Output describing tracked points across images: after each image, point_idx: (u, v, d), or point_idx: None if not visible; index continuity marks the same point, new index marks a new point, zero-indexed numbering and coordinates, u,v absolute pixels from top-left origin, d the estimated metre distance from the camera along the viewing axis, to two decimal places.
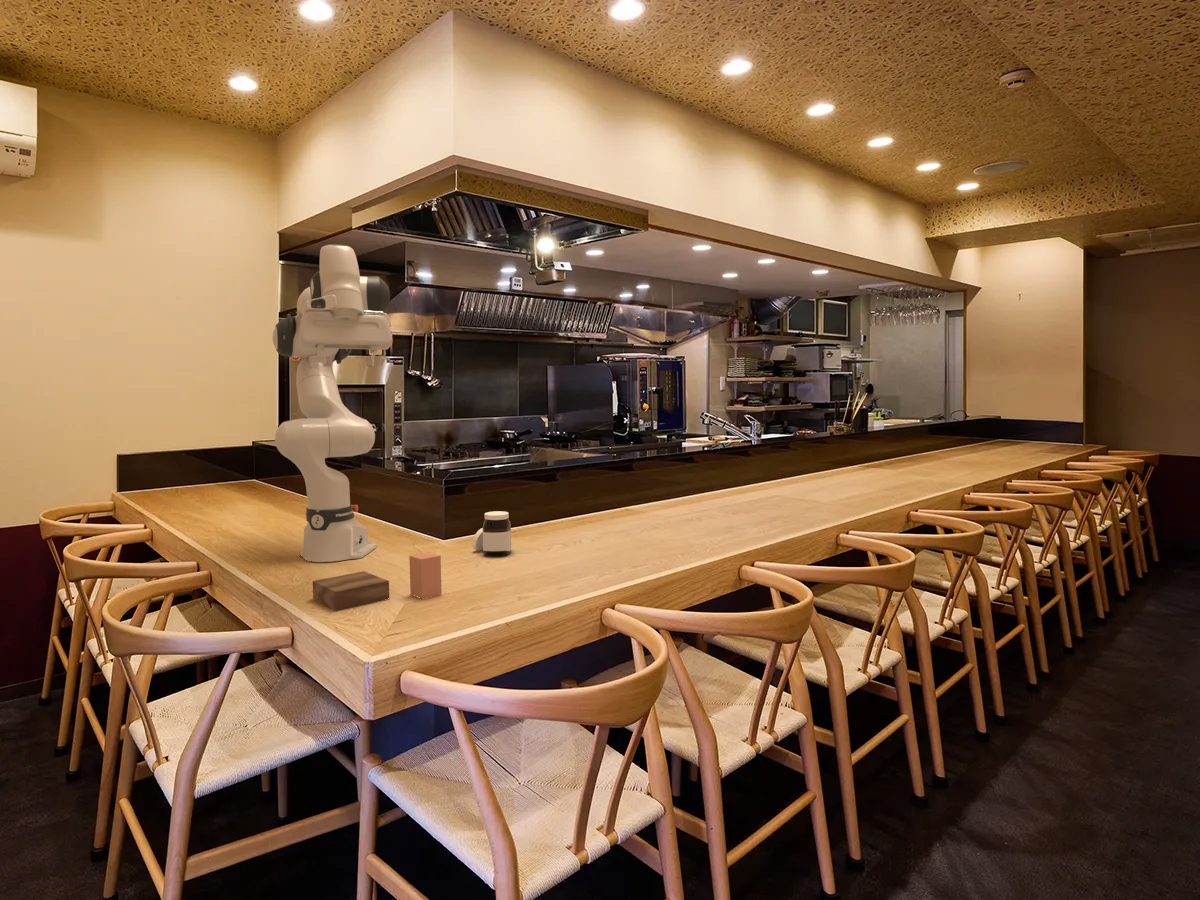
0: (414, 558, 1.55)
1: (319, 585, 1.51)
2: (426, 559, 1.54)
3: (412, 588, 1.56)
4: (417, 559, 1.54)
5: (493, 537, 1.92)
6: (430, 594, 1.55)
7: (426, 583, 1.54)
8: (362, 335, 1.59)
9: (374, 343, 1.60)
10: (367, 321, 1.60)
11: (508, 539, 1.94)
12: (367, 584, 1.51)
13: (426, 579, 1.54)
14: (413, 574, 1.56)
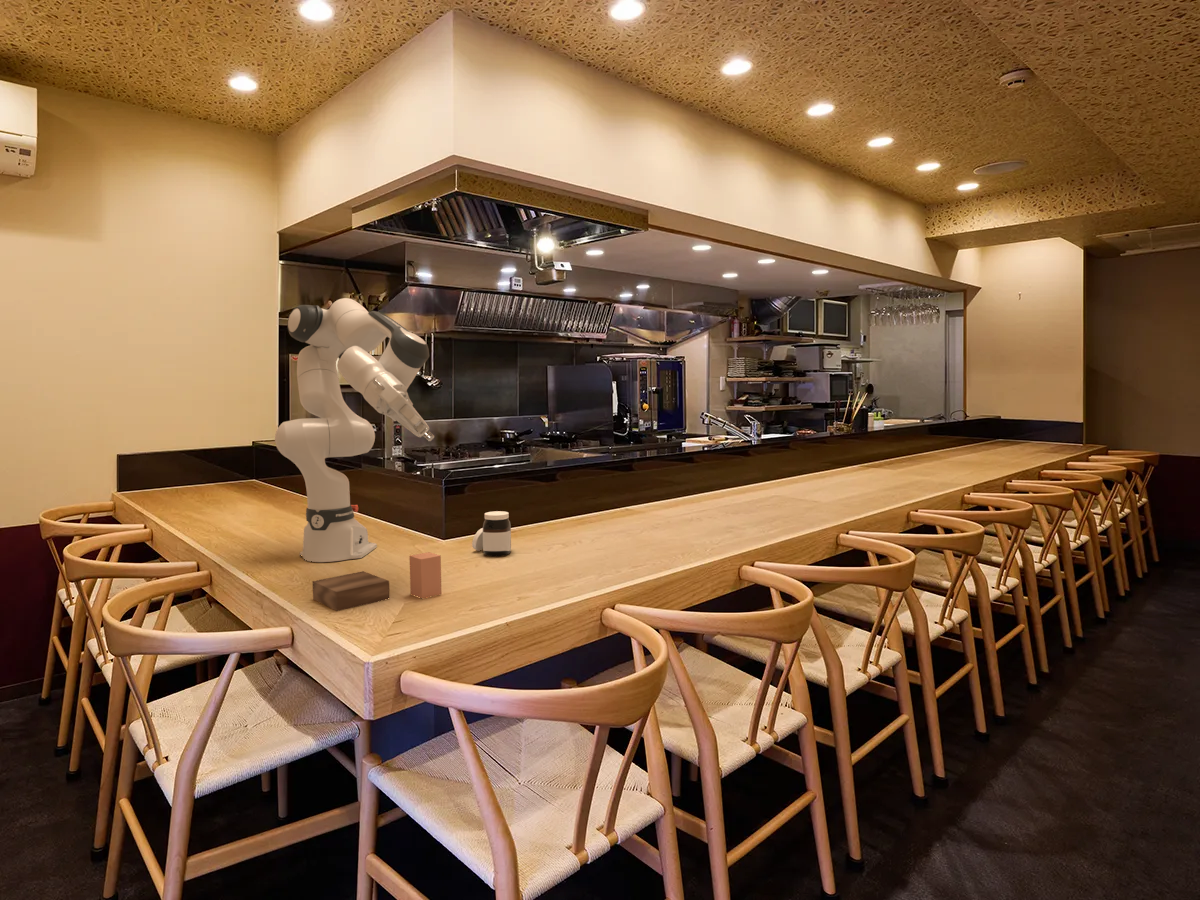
0: (414, 558, 1.55)
1: (319, 585, 1.51)
2: (426, 559, 1.54)
3: (412, 588, 1.56)
4: (417, 559, 1.54)
5: (493, 537, 1.92)
6: (430, 594, 1.55)
7: (427, 583, 1.54)
8: None
9: (397, 413, 1.56)
10: (383, 400, 1.59)
11: (508, 539, 1.94)
12: (367, 584, 1.51)
13: (426, 579, 1.54)
14: (413, 574, 1.56)
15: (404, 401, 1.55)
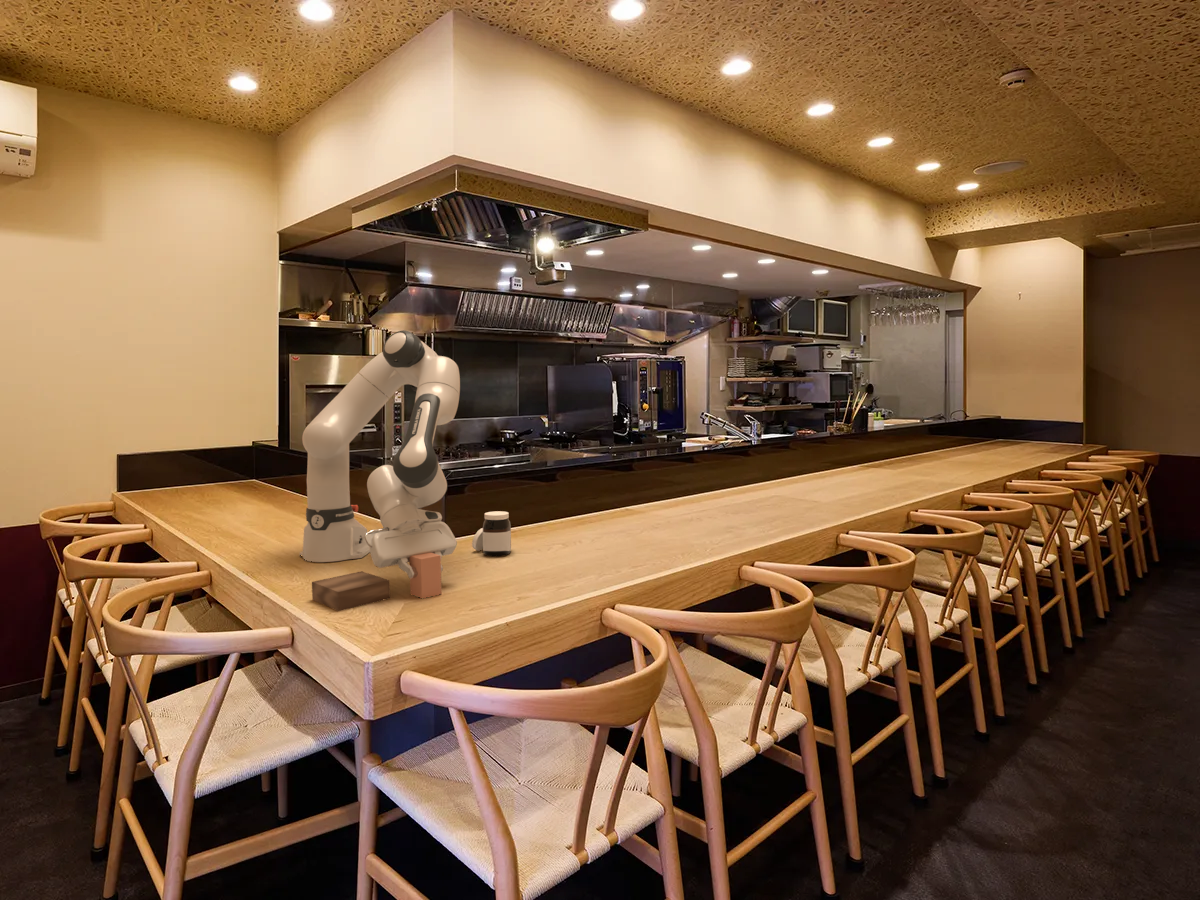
0: (414, 558, 1.55)
1: (319, 585, 1.51)
2: (426, 559, 1.54)
3: (412, 588, 1.56)
4: (417, 559, 1.54)
5: (493, 537, 1.92)
6: (430, 594, 1.55)
7: (427, 583, 1.54)
8: None
9: None
10: None
11: (508, 539, 1.94)
12: (368, 584, 1.51)
13: (426, 579, 1.54)
14: None
15: (389, 559, 1.52)
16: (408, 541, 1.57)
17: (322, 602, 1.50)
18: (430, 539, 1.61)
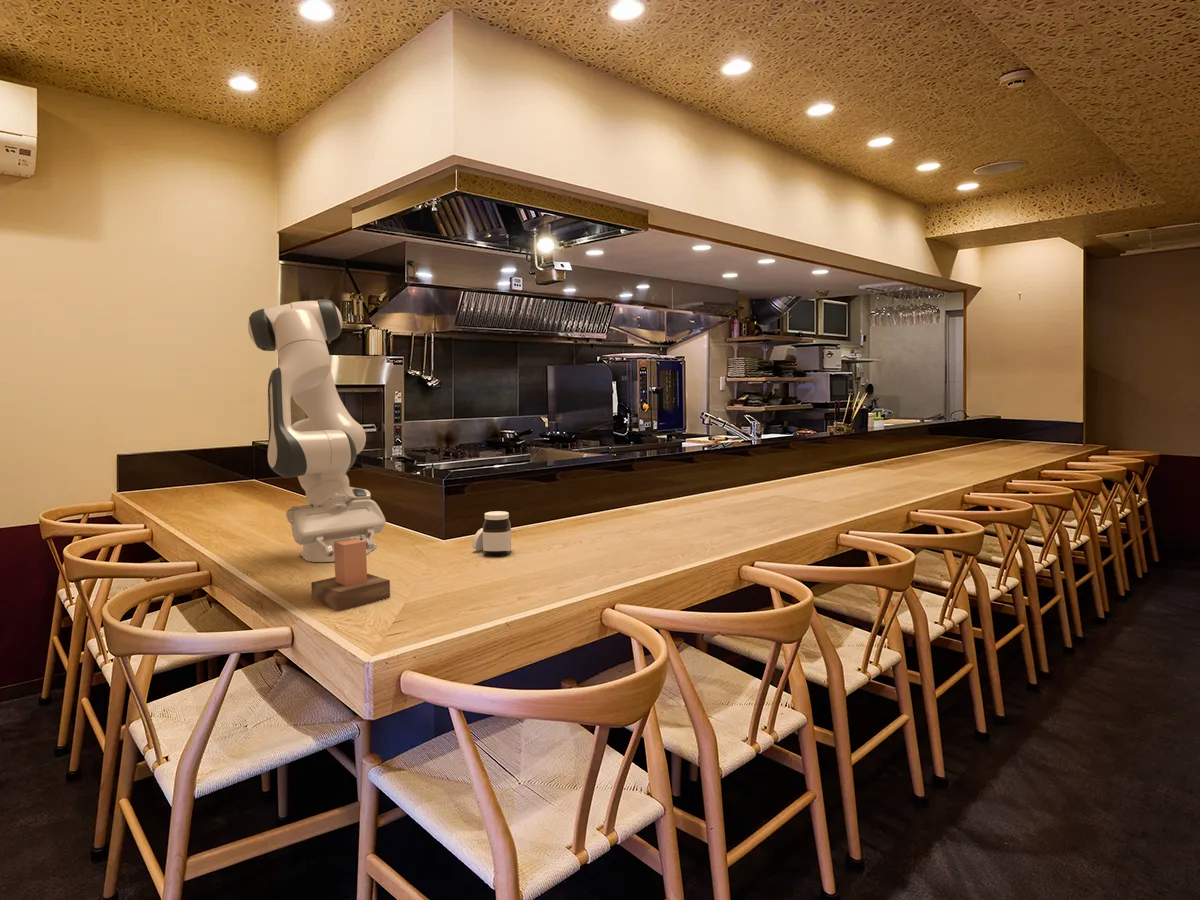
0: (338, 544, 1.51)
1: (319, 586, 1.50)
2: (350, 545, 1.50)
3: (336, 575, 1.53)
4: (340, 545, 1.50)
5: (493, 537, 1.92)
6: (354, 581, 1.51)
7: (350, 570, 1.50)
8: None
9: None
10: None
11: (508, 539, 1.94)
12: (369, 584, 1.51)
13: (349, 565, 1.50)
14: (337, 560, 1.52)
15: (310, 536, 1.48)
16: (332, 519, 1.54)
17: (322, 602, 1.50)
18: (356, 517, 1.57)
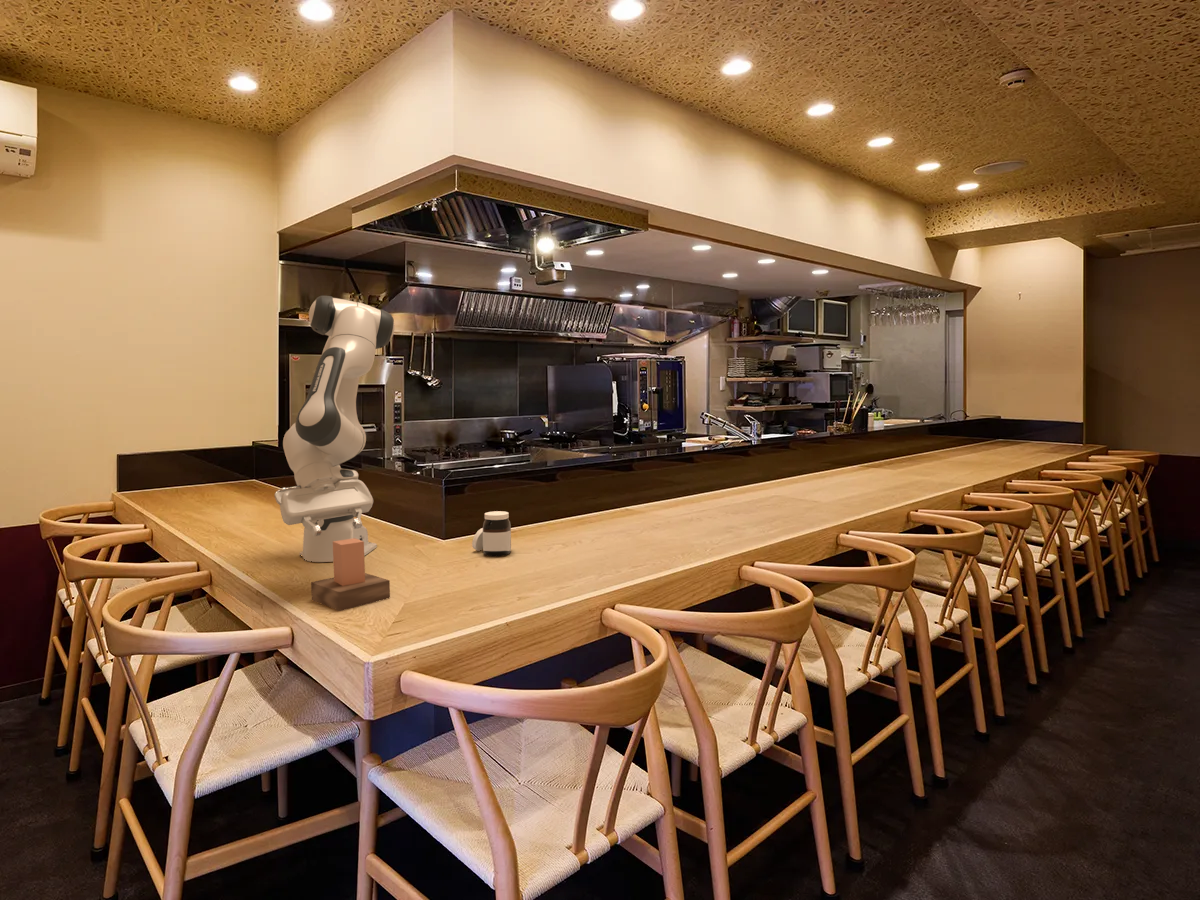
0: (336, 544, 1.51)
1: (319, 586, 1.50)
2: (347, 545, 1.50)
3: (335, 575, 1.53)
4: (338, 545, 1.50)
5: (493, 537, 1.92)
6: (352, 581, 1.51)
7: (348, 570, 1.50)
8: None
9: None
10: None
11: (508, 539, 1.94)
12: (368, 584, 1.51)
13: (347, 565, 1.50)
14: (335, 560, 1.52)
15: (298, 516, 1.52)
16: (319, 499, 1.57)
17: (322, 602, 1.50)
18: (344, 497, 1.61)
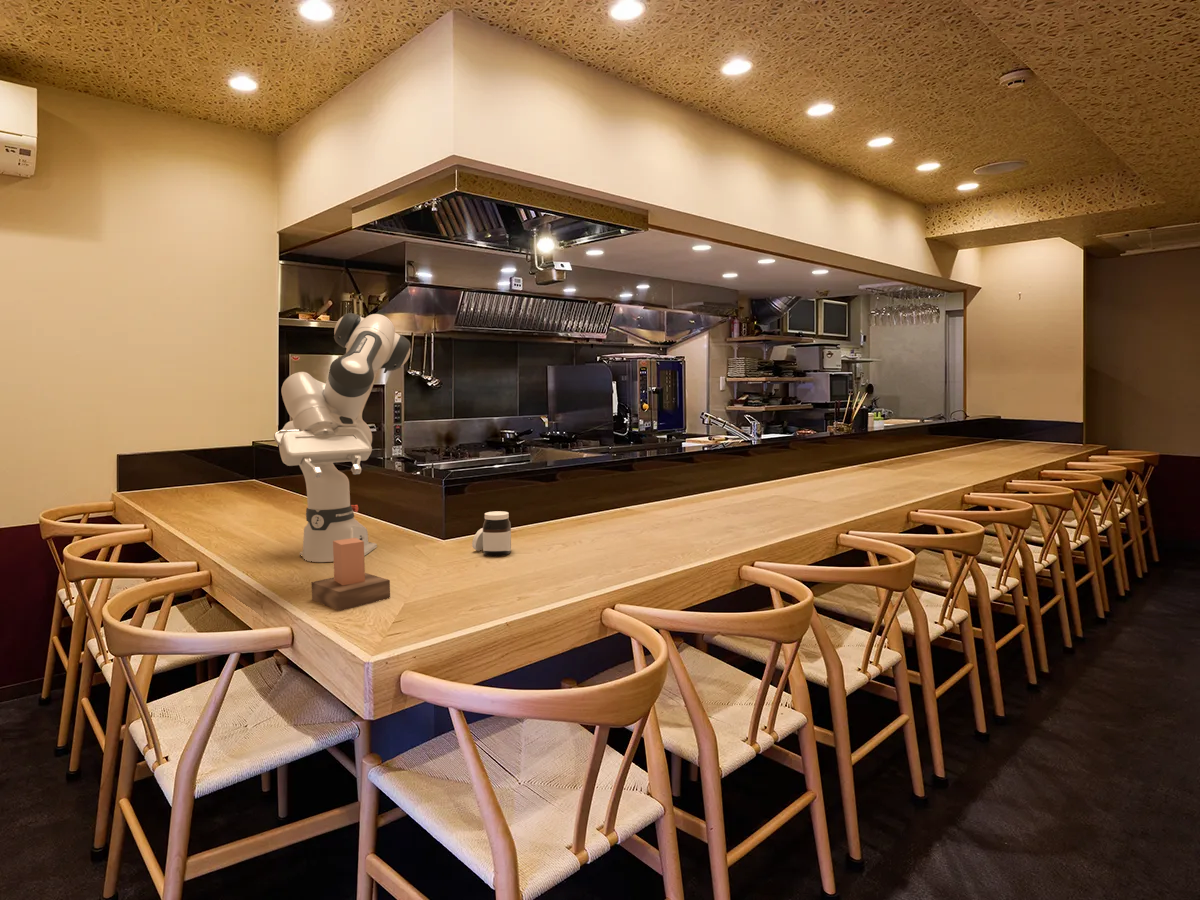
0: (336, 543, 1.51)
1: (319, 586, 1.51)
2: (347, 545, 1.50)
3: (335, 574, 1.53)
4: (338, 544, 1.50)
5: (493, 537, 1.92)
6: (352, 580, 1.51)
7: (348, 569, 1.51)
8: None
9: None
10: None
11: (508, 539, 1.94)
12: (369, 584, 1.51)
13: (347, 565, 1.50)
14: (335, 560, 1.52)
15: (298, 457, 1.51)
16: (319, 442, 1.56)
17: (322, 602, 1.50)
18: (343, 442, 1.60)
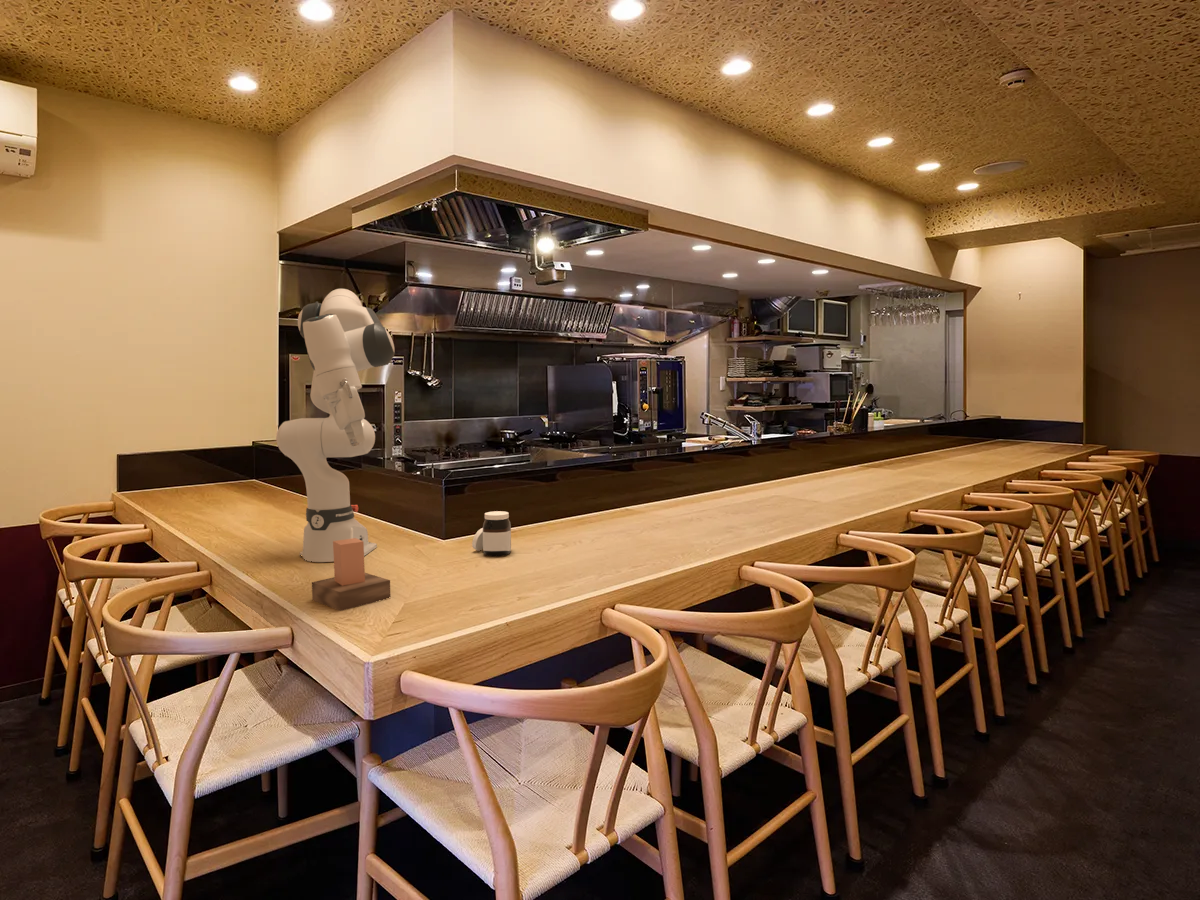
0: (336, 543, 1.51)
1: (320, 586, 1.51)
2: (346, 545, 1.50)
3: (335, 574, 1.53)
4: (338, 544, 1.50)
5: (493, 537, 1.92)
6: (352, 581, 1.51)
7: (347, 569, 1.50)
8: (342, 415, 1.51)
9: (347, 422, 1.49)
10: (338, 399, 1.50)
11: (508, 539, 1.94)
12: (369, 584, 1.51)
13: (346, 565, 1.50)
14: (335, 560, 1.52)
15: (362, 418, 1.49)
16: None
17: (323, 602, 1.50)
18: None
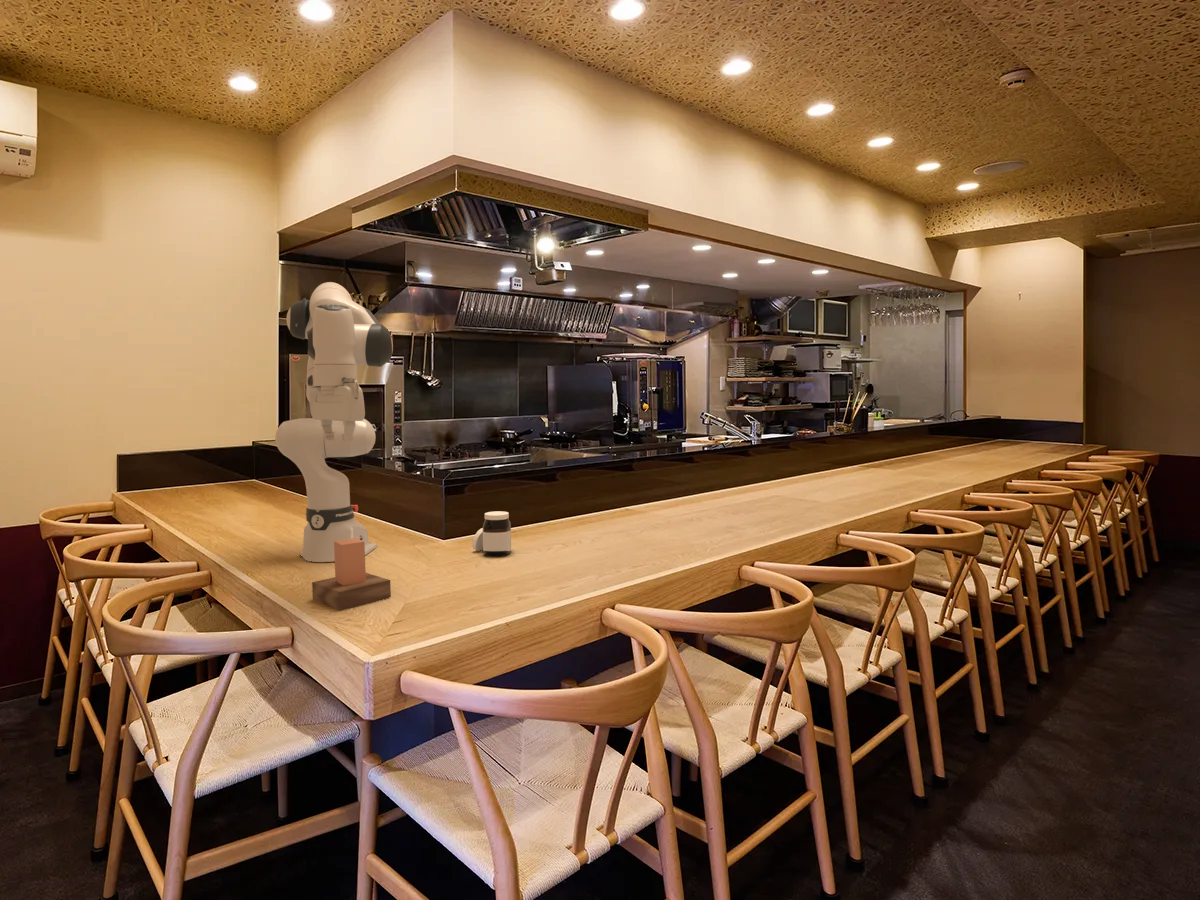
0: (337, 543, 1.51)
1: (320, 586, 1.51)
2: (348, 545, 1.50)
3: (336, 574, 1.53)
4: (339, 544, 1.50)
5: (493, 537, 1.92)
6: (352, 581, 1.51)
7: (348, 569, 1.51)
8: (335, 411, 1.49)
9: (341, 419, 1.48)
10: (338, 394, 1.48)
11: (508, 539, 1.94)
12: (369, 584, 1.51)
13: (347, 565, 1.50)
14: (336, 560, 1.52)
15: None
16: None
17: (323, 602, 1.50)
18: None
